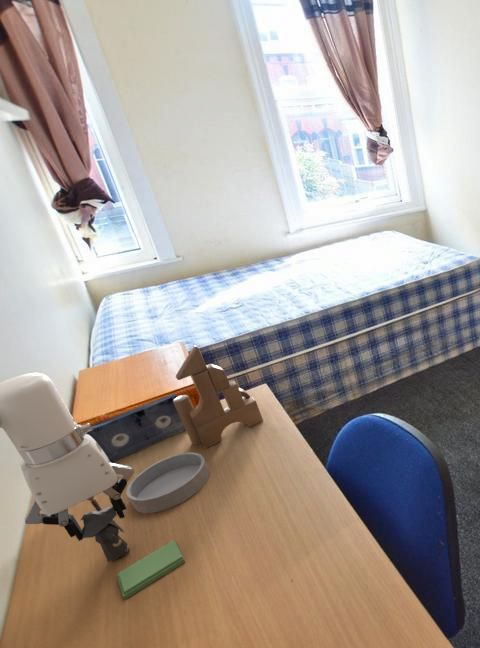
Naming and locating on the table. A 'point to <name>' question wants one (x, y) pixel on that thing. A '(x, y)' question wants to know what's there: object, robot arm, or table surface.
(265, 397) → the table surface
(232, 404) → the wooden toy
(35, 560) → the table surface
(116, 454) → the vhs cassette tape
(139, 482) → the metal pan
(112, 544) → the wizard figurine
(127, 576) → the green rectangular block
